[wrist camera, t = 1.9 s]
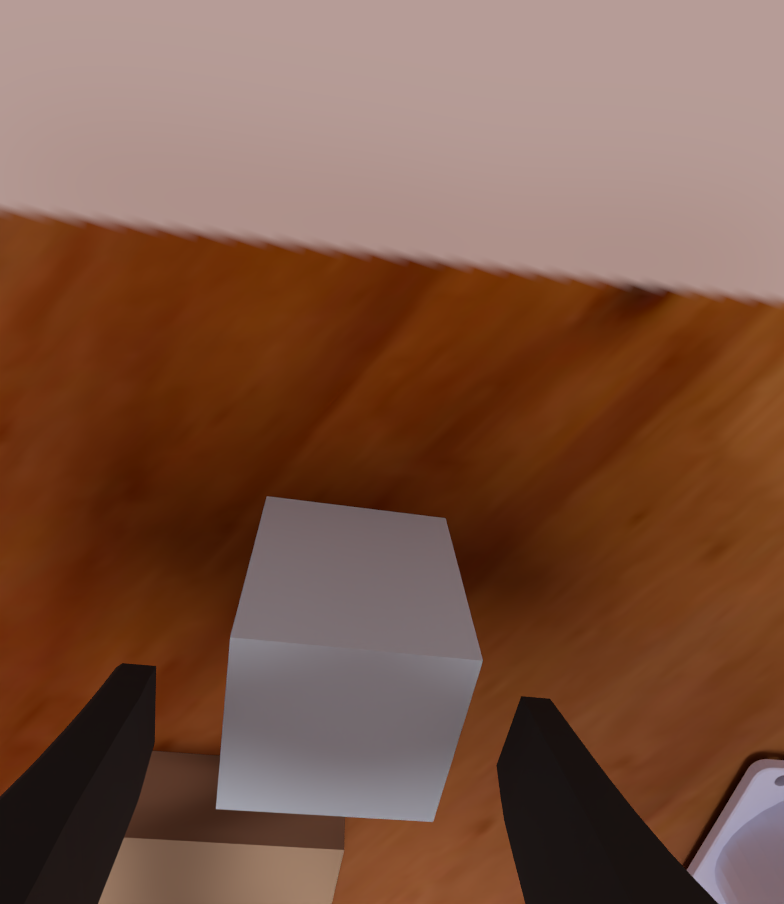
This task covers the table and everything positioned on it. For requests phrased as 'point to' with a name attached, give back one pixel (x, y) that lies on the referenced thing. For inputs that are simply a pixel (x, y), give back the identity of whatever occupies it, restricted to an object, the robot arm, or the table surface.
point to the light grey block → (346, 665)
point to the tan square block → (218, 845)
